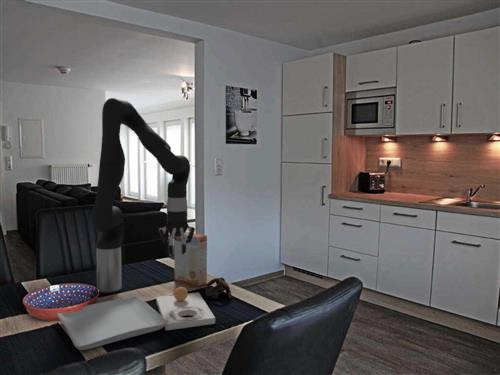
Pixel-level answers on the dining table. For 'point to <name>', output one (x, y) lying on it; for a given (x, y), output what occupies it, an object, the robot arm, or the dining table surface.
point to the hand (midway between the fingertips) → (177, 254)
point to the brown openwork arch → (217, 287)
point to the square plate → (111, 322)
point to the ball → (180, 293)
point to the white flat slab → (184, 311)
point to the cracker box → (191, 260)
